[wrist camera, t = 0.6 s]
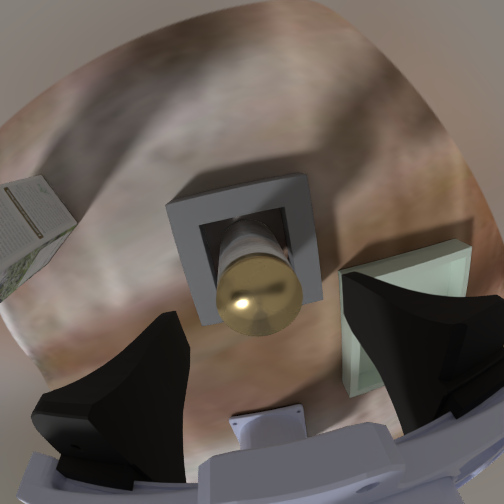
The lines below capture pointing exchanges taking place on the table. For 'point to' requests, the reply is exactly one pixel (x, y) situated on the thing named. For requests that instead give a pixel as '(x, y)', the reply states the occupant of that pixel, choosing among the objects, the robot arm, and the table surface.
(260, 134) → the table surface
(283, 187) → the holder
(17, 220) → the syrup box
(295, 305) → the pin
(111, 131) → the table surface
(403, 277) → the tray
